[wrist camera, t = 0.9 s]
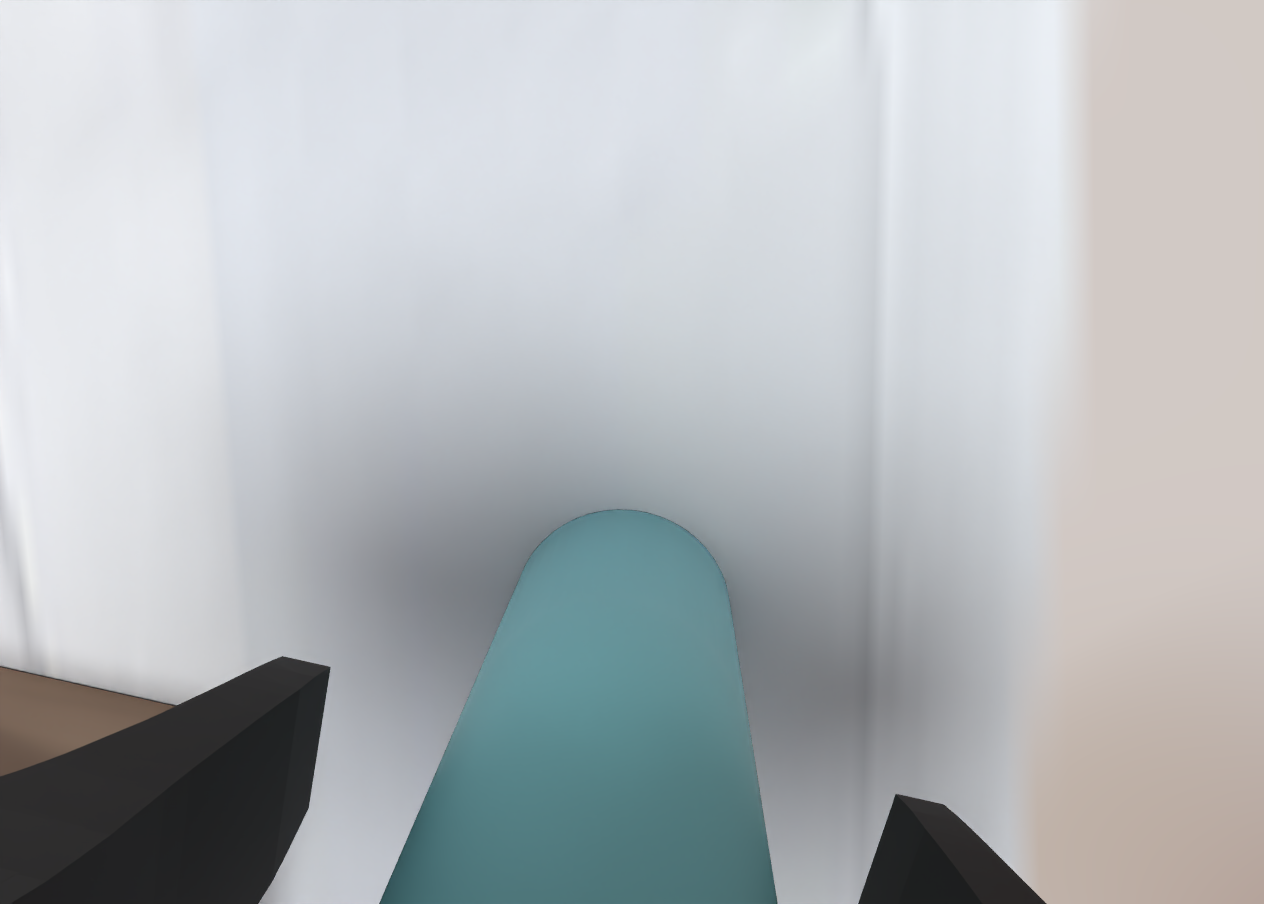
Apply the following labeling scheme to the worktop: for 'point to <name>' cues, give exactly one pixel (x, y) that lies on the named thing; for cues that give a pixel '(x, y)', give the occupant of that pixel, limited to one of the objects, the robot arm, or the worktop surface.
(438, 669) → the worktop surface
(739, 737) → the peg
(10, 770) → the socket block
